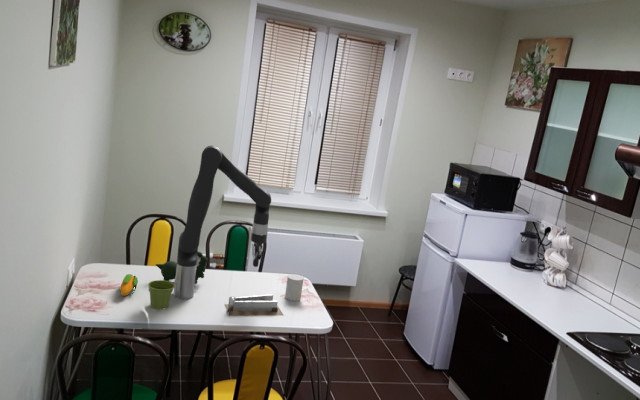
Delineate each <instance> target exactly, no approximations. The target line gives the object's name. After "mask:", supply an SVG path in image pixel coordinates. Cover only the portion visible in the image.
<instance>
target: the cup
mask: <svg viewBox="0 0 640 400" xmlns="http://www.w3.org/2000/svg"><path fill="white" fill-rule="evenodd" d="M304 279H305V278H304V277H303V276H302V275H300V274H289V275H287V280H286V286H285V292H284V293H285V294H284V298H285V299H287V300H289V301H295V302H296V301H298V302H301V299H302V292H303V284H304Z"/></svg>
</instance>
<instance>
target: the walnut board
mask: <svg viewBox="0 0 640 400" xmlns="http://www.w3.org/2000/svg"><path fill="white" fill-rule="evenodd" d="M228 304H229V303H228ZM228 304H227V303H226V304H225V303H224V307H225V309H226V311H227V314H228V316H229V317H246V316H247V317H249V316H250V317H253V316H254V317H256V316H260V317H261V316H262V317H264V316H284V313H283V311H282V310H281V309H280V307H279V305H278V304H277V307H278V312H233V311H228Z"/></svg>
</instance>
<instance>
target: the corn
mask: <svg viewBox="0 0 640 400" xmlns="http://www.w3.org/2000/svg"><path fill="white" fill-rule="evenodd" d="M138 283H139V280H138V277H137V276H136V275H134V276H133V274H130V273H129V274H126V275H125V276H124V277H123V280H122V282H121V284H120V287H119V289H120V290H119V291H120V294H121V295H122V296H127V295H129V294H131V293H132V290H133V288H134V287H135V290H134V292H135V291H136V288H137V287H138V286H137V285H138ZM134 292H133V293H132V295H133V294H134Z"/></svg>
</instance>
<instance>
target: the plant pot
mask: <svg viewBox="0 0 640 400" xmlns="http://www.w3.org/2000/svg"><path fill="white" fill-rule="evenodd" d="M147 286H148V290H149V299H150V300H149V301H150V307H151V308H152V309H154V310H165V309H167V308H168V307H169V304H170V300H171V295H172V293H173V292H174V287H175V285H174V282H172V281H164V279H163V280H161V279H160V280H159V279H158V280H151V281H149V282H148V283H147Z"/></svg>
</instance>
